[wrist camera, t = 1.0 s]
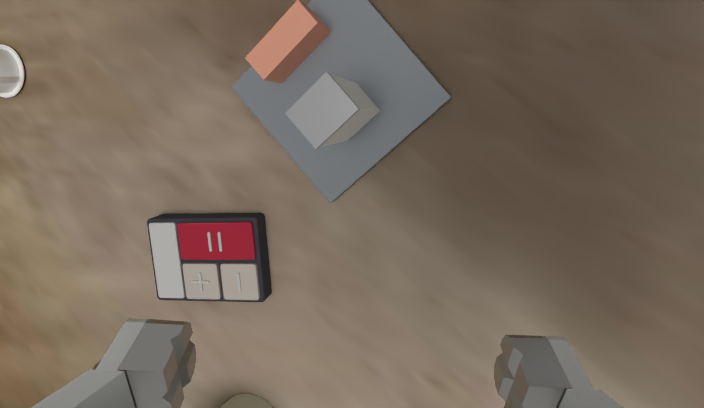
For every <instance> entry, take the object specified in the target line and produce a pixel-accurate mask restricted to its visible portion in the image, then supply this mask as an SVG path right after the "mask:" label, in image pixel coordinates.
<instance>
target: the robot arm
mask: <svg viewBox="0 0 704 408" xmlns="http://www.w3.org/2000/svg"><path fill="white" fill-rule="evenodd" d="M192 333H193V332H192V328H191V323H189V322H183V321H168V320H153V319H149V320H148V319H133V318H130V319H128V320H127V321H126V322H125V323H124V324H123V326H122V327H121V329H120V330H119V332H118V334H117V335H116V337H115V339H114V340H113V342H112V343H111V345H110V347H109V348H108V350H107V351H106V353H105V355H104V356H103V358H102V359H101V361H100V363H99V364H98V366H97V367H96V369H95V370H88V371H86V372H85V373H83V374H82V375H80V376H79V377H77V378H75V379H74V380H72V381H71V382H69V383H68V384H66V385H65V386H63V387H62V388H60V389H59V390H57V391H56V392H54V393H53V394H51V395H50V396H48V397H47V398H45V399H44V400H42V401H40V402H39V403H37V404H36V405H34V406H33V407H31V408H180V407H181V405H182V402H183V399H184V394H183V389H182V388H183V387H185V386H186V385H187V384H188V383H190V381H191V378H192V375H193V373H194V368H195V363H196V349H195V344H193V343H192V342H191V341H190V337H191V335H192ZM500 346H501V349H502V351H503V353H502V354H500V355H499V356H498V357H497V358H496V362H495V366H494V379H495V385H496V389H497V392H498V395H499V396H501V397H502V398H503V399H504V400H505V401H506V403H505V406H504V408H623V407H622V406H620V405H619V404H618V403H617V402H615V401H614V400H613V399H611V398H610V397H609V396H608V395H606V394H605V393H604V392H602V391H601V390H594V388H593V386H592V384H591V382H590V380H589V379H588V377H587V375H586V373H585V371H584V369H583V368H582V366H581V364H580V362H579V360H578V359H577V357H576V355H575V353H574V351H573V349H572V348H571V346H570V344H569V342H568V340H567V339H566V338H564V337H557V336H527V335H505V336H504V337H503V339H502V342H501V345H500Z"/></svg>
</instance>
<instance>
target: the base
mask: <svg viewBox="0 0 704 408" xmlns="http://www.w3.org/2000/svg"><path fill="white" fill-rule="evenodd" d="M245 59H246V60H247V61H248V62H249V63H250V65H251V67H250V68H249V69H248V70H247V71H246V72H245V73H244V74H243V75H242V76H241V78H240V79H239V80H238V81H237V82H236V83H235V84H234V85H233V86H232V89H233V90H234V91H235V92H236V93H237V94H238V96H239V97H240V98H241V99H242V100H243V102H244V103H245V104H246V105H247V106H248V107H249V109H250V110H251V111H252V112H253V113H254V114H255V116H256V117H257V118H258V119H259V120H260V121H261V123H262V124H263V125H264V126H265V127H266V128H267V130H268V131H269V132H270V133H271V134H272V135H273V137H274V138H275V139H276V140H277V141H278V143H279V144H280V145H281V146H282V147H283V148H284V150H285V151H286V152H287V153H288V154H289V155H290V157H291V158H292V159H293V160H294V161H295V162H296V164H297V165H298V166H299V167H300V168H301V169H302V171H303V172H304V173H305V174H306V175H307V177H308V178H309V179H310V180H311V181H312V182H313V184H314V185H315V186H316V187H317V188H318V189H319V191H320V192H321V193H322V194H323V195H324V196H325V198H326V199H327V200H328V201H329V202H330V203H331V202H333V201H334V200H335V199H336V198H338V197H339V196H340V195H341V194H342V193H343V192H344V191H346V190H347V189H348V188H349V187H350V186H351V185H352V184H354V183H355V182H356V181H357V180H358V179H359V178H360V177H362V176H363V175H364V174H365V173H366V172H367V171H368V170H370V169H371V168H372V167H373V166H374V165H375V164H376V163H378V162H379V161H380V160H381V159H382V158H383V157H384V156H386V155H387V154H388V153H389V152H390V151H391V150H392V149H394V148H395V147H396V146H397V145H398V144H399V143H400V142H402V141H403V140H404V139H405V138H406V137H407V136H408V135H410V134H411V133H412V132H413V131H414V130H415V129H416V128H418V127H419V126H420V125H421V124H422V123H423V122H424V121H425V120H427V119H428V118H429V117H430V116H431V115H432V114H433V113H435V112H436V111H437V110H438V109H439V108H440V107H441V106H443V105H444V104H445V103H446V102H447V101H448V100H449V99H451V97H450V96H449V94H448V93H447V92H446V91H445V90H444V89H443V87H442V86H441V85H440V84H439V83H438V82H437V80H436V79H435V78H434V77H433V76H432V75H431V73H430V72H429V71H428V70H427V69H426V68H425V66H424V65H423V64H422V63H421V62H420V61H419V59H418V58H417V57H416V56H415V55H414V54H413V52H412V51H411V50H410V49H409V48H408V47H407V45H406V44H405V43H404V42H403V41H402V40H401V38H400V37H399V36H398V35H397V34H396V33H395V31H394V30H393V29H392V28H391V27H390V26H389V25H388V23H387V22H386V21H385V20H384V19H383V18H382V16H381V15H380V14H379V13H378V12H377V11H376V9H375V8H374V7H373V6H372V5H371V4H370V2H369V1H368V0H311V1H310V2H309V4H308V5H307V6H306V5H304V4H303V3H302V2H300V1H299V0H297V1H296V2H295V3H294V5H293V6H292V7H291V8H290V9H289V10H288V11H287V12H286V13H285V14H284V16H283V17H282V18H281V19H280V20H279V21H278V22H277V23H276V24H275V26H274V27H273V28H272V29H271V30H270V31H269V32H268V33H267V34H266V35H265V37H264V38H263V39H262V40H261V41H260V42H259V43H258V44H257V45H256V46H255V48H254V49H253V50H252V51H251V52H250V53H249V54H248V55H247V56H246V57H245ZM326 72H329V73H330V74H331V75H334V76H337V77H340V78H343V79H346V80H349V81H352V82H355V83H357V84H358V85H359V86H360V87H361V89H362V90H363V91H364V92H365V93H366V94H367V96H368V97H369V98H370V99H371V100H372V101H373V103H374V104H375V105H376V106H377V107H378V108H379V110H380V112H378V113H377V114H376V115H375V116H374V117H373V118H372V119H371V120H370V121H369V122H368V123H367V124H365V125H364V126H363V127H362V128H361V129H360V130H359V131H358V132H357V133H356V134H355V135H353V136H352V137H351V138H350V139H349V140H348V141H345V142H340V143H336V144H331V145H326V146H322V147H319V148H318V149H315V148H314V147H313V146H312V144H311V143H310V142H309V141H308V140H307V139H306V137H305V136H304V135H303V134H302V133H301V131H300V130H299V129H298V128H297V127H296V126H295V124H294V123H293V122H292V121H291V120H290V119H289V117H288V116H287V115H286V114H285V113H286V112H287V111H288V110H289V109H290V108H291V107H292V106H293V105H294V104H295V103H296V102H297V101H298V100H299V99H300V98H301V97H302V96H303V95H304V94H305V93H306V92H307V91H308V90H309V89H310V88H311V87H312V86H313V85H314V84H315V83H316V82H317V81H318V80H319V79H320V78H321V77H322V76H323V75H324V74H325V73H326Z"/></svg>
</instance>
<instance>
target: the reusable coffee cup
mask: <svg viewBox="0 0 704 408" xmlns="http://www.w3.org/2000/svg"><path fill="white" fill-rule="evenodd" d="M220 408H273V407H272V406H271V405H270V404H269V403H268V402H266V401H265V400H264V399H262V398H260V397H258V396H256V395H253V394H238V395H235V396H233V397H232V398H230V399H229V400H228V401H227V402H226V403H225V404H224V405H222V406H221V407H220Z"/></svg>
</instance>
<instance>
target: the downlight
mask: <svg viewBox="0 0 704 408" xmlns="http://www.w3.org/2000/svg"><path fill="white" fill-rule="evenodd" d="M23 83H24V67H23V63H22V61H21V59H20V57H19V55H18V54H17V52H16V51H15V50H14V49H12V48H11V47H9V46H7V45H0V96H1V97H7V98H9V97H13V96H15V95H16V94H18V93H19V91H20V90H21V88H22V86H23Z"/></svg>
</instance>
